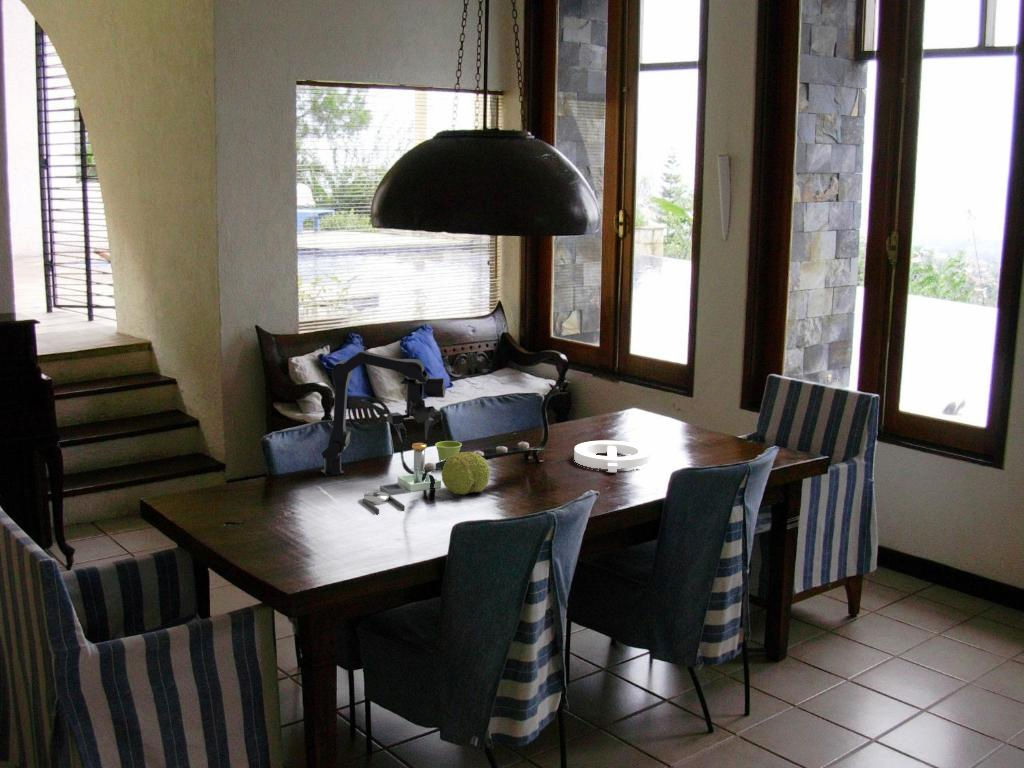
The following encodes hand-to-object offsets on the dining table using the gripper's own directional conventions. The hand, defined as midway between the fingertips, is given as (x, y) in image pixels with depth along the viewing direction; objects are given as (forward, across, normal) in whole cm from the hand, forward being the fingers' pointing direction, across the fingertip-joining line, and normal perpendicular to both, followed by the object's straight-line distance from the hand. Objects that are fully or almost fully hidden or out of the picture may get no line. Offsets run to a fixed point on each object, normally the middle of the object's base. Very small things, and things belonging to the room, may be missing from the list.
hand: (414, 440), depth 390 cm
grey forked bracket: (+13, -23, -26) cm, 37 cm away
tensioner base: (+13, -14, -14) cm, 24 cm away
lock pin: (+12, -4, -12) cm, 17 cm away
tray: (+13, -4, -12) cm, 18 cm away
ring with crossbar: (+14, +75, -11) cm, 77 cm away
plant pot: (+13, +16, +6) cm, 22 cm away
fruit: (+13, +8, -24) cm, 29 cm away
